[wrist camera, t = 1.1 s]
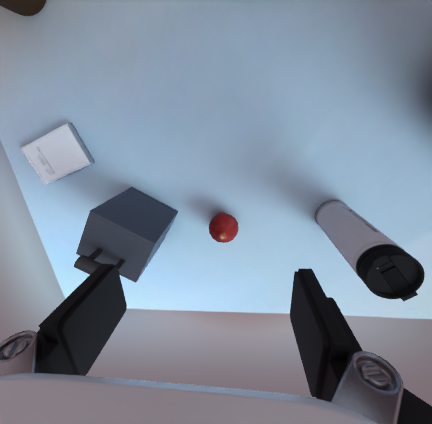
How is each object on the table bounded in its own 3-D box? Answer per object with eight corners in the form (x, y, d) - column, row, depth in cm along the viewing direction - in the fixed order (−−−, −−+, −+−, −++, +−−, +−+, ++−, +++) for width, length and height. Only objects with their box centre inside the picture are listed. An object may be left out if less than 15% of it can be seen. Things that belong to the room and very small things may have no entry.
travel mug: (326, 234, 45) (386, 310, 27) (308, 212, 44) (358, 277, 26) (354, 217, 43) (439, 286, 25) (336, 193, 42) (412, 248, 24)
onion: (226, 236, 48) (224, 257, 41) (206, 221, 47) (200, 240, 40) (243, 218, 46) (244, 236, 39) (222, 202, 45) (218, 217, 38)
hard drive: (95, 162, 45) (50, 183, 47) (72, 122, 42) (26, 147, 45) (90, 163, 43) (44, 185, 46) (65, 122, 40) (18, 148, 43)
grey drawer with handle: (66, 223, 28) (53, 271, 32) (143, 261, 29) (122, 304, 33) (131, 186, 46) (118, 220, 49) (178, 211, 47) (162, 242, 50)
